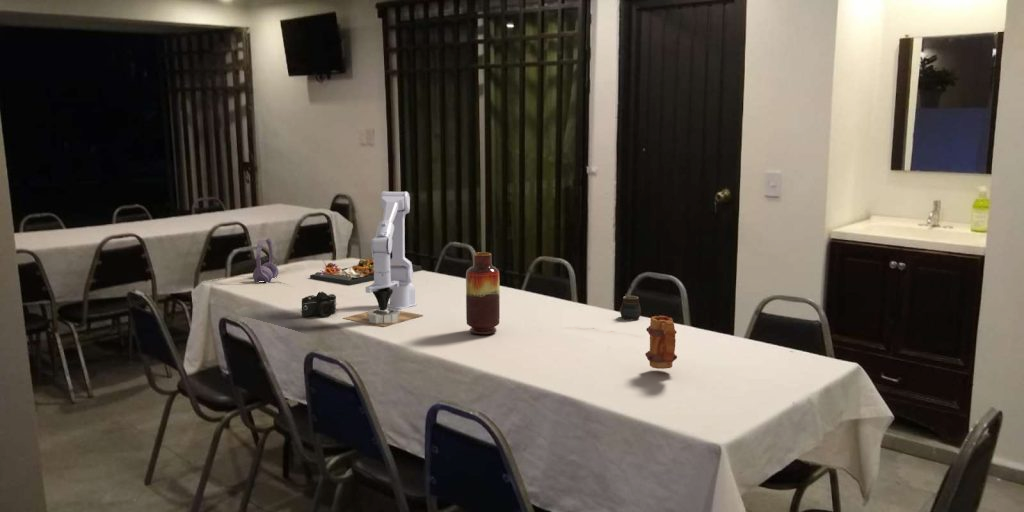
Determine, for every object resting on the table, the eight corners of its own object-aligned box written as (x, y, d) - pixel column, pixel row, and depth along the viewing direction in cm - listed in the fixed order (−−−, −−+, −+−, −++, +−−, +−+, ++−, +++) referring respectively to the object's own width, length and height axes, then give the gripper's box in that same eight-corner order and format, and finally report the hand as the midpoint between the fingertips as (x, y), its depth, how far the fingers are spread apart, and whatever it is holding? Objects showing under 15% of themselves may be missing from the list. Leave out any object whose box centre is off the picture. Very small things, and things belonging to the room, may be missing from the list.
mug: (642, 362, 237) (643, 311, 234) (670, 362, 237) (671, 311, 235) (655, 378, 222) (656, 323, 220) (684, 377, 223) (686, 323, 221)
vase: (504, 328, 277) (504, 251, 273) (492, 336, 267) (492, 256, 263) (473, 326, 281) (473, 250, 277) (461, 333, 270) (460, 255, 266)
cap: (383, 317, 291) (382, 307, 290) (393, 319, 288) (393, 309, 288) (373, 320, 287) (372, 310, 286) (383, 322, 284) (383, 312, 284)
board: (382, 308, 307) (382, 307, 307) (423, 316, 295) (423, 314, 295) (342, 319, 291) (342, 318, 291) (383, 326, 279) (383, 325, 279)
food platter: (350, 291, 343) (349, 266, 341) (310, 285, 357) (309, 261, 355) (421, 275, 379) (421, 253, 378) (382, 270, 393) (382, 249, 391)
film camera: (303, 322, 287) (312, 297, 285) (295, 312, 293) (303, 287, 291) (337, 325, 296) (346, 300, 294) (329, 315, 302) (337, 291, 299)
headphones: (269, 287, 349) (266, 240, 346) (249, 287, 349) (247, 240, 346) (281, 279, 367) (279, 234, 364) (263, 279, 367) (261, 234, 364)
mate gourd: (643, 318, 292) (644, 290, 290) (637, 322, 285) (638, 294, 284) (623, 316, 295) (624, 288, 293) (617, 320, 288) (617, 292, 287)
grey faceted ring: (383, 315, 295) (382, 306, 295) (405, 319, 289) (405, 310, 288) (360, 320, 286) (360, 312, 286) (383, 325, 280) (383, 316, 280)
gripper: (388, 267, 293) (389, 304, 295) (358, 273, 281) (359, 312, 284) (403, 269, 289) (403, 307, 291) (373, 275, 277) (374, 314, 279)
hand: (383, 309), depth 287 cm, fingers closed
